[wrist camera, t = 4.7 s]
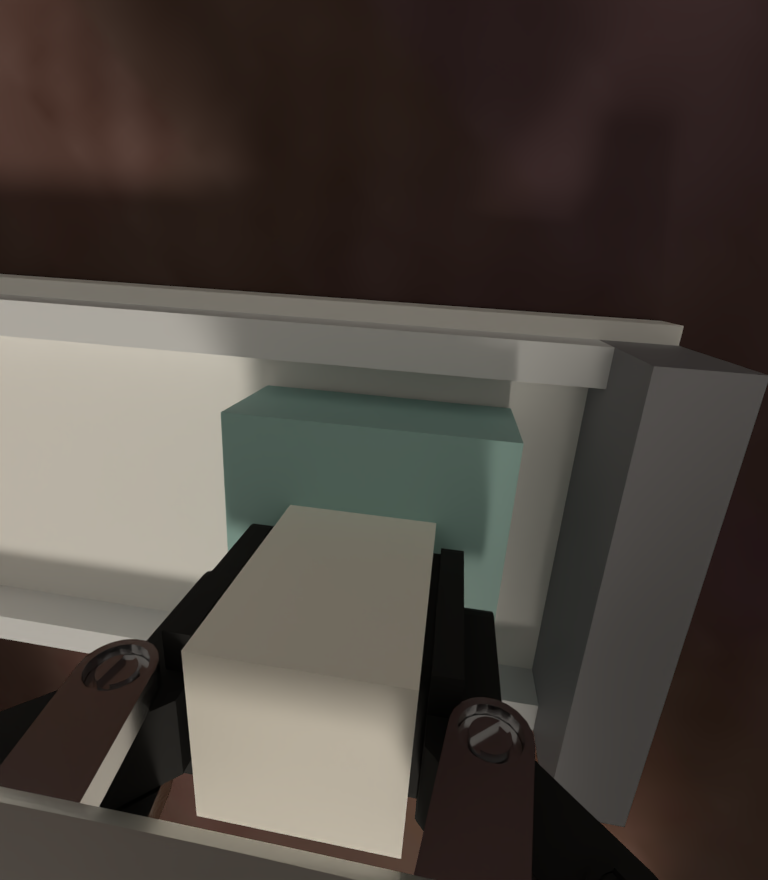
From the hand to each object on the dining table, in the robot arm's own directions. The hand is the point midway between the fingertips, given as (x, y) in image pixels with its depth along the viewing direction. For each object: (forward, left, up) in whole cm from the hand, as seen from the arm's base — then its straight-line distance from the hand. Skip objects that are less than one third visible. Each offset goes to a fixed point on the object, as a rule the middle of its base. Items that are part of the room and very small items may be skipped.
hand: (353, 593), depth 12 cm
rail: (+9, 0, -5) cm, 11 cm away
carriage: (0, 0, -4) cm, 4 cm away
